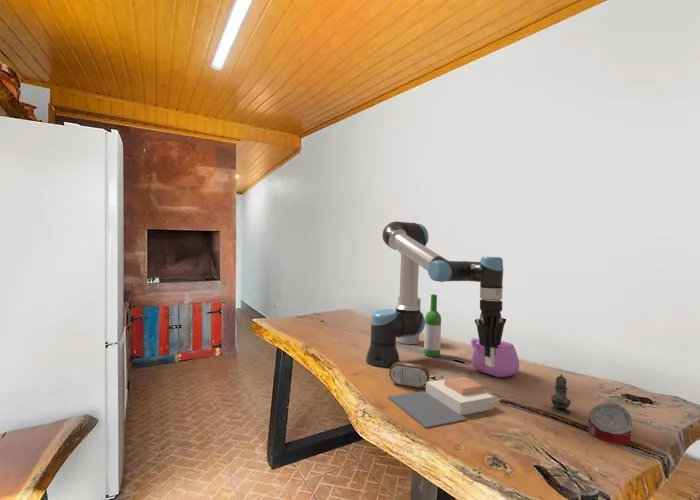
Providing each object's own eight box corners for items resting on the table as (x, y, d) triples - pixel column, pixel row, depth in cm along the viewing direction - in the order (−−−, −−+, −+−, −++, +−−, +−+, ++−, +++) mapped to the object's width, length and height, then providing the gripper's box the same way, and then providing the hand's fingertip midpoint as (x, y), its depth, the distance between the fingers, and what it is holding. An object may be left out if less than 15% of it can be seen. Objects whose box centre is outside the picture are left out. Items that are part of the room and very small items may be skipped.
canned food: (630, 457, 97) (650, 435, 92) (597, 454, 96) (615, 431, 91) (604, 421, 107) (621, 399, 102) (573, 417, 106) (589, 395, 101)
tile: (444, 385, 122) (444, 379, 122) (464, 382, 126) (464, 376, 126) (461, 395, 114) (462, 389, 114) (482, 391, 118) (482, 385, 118)
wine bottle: (439, 353, 175) (441, 294, 175) (440, 358, 167) (442, 296, 167) (423, 352, 176) (425, 293, 176) (424, 356, 169) (426, 295, 169)
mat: (387, 397, 120) (387, 396, 120) (424, 392, 126) (424, 390, 126) (425, 428, 99) (425, 427, 99) (466, 420, 105) (466, 418, 105)
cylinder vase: (405, 338, 204) (407, 295, 204) (423, 342, 195) (425, 298, 195) (392, 341, 196) (393, 297, 196) (409, 346, 187) (411, 299, 187)
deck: (425, 393, 125) (426, 382, 125) (456, 388, 130) (456, 377, 130) (460, 415, 108) (460, 402, 108) (493, 409, 114) (494, 396, 114)
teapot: (481, 361, 165) (482, 329, 165) (524, 375, 147) (526, 339, 147) (449, 368, 152) (450, 334, 152) (492, 385, 135) (493, 346, 135)
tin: (429, 387, 130) (430, 365, 130) (428, 390, 127) (429, 367, 127) (390, 381, 135) (390, 359, 135) (388, 384, 132) (389, 362, 132)
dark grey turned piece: (570, 416, 110) (572, 378, 111) (549, 411, 114) (550, 374, 114) (570, 409, 115) (571, 373, 116) (550, 404, 119) (551, 369, 119)
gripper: (485, 301, 118) (483, 370, 118) (512, 300, 124) (511, 366, 123) (469, 298, 125) (468, 364, 125) (496, 297, 131) (495, 360, 130)
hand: (489, 365), depth 124 cm, fingers closed
